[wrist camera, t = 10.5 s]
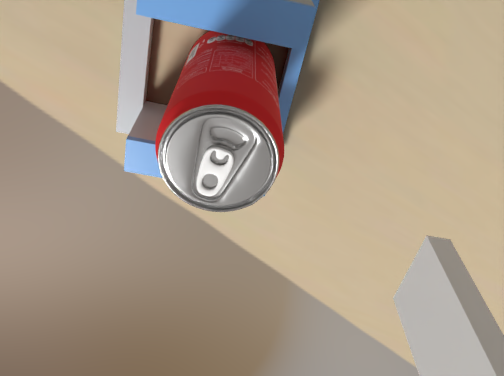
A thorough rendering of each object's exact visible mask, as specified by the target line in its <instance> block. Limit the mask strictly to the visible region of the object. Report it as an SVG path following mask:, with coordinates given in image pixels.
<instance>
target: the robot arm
mask: <svg viewBox="0 0 504 376" xmlns="http://www.w3.org/2000/svg"><path fill="white" fill-rule="evenodd" d="M393 299H394V302H395V305H396V308H397V311H398V314H399V317H400V320H401V323H402V326H403V329H404V332H405V335H406V338H407V341H408V343H409V346H410V349H411V352H412V355H413V358H414V361H415V364H416V367H417V370H418V373H419V375H420V376H504V335H503V333H502V332H501V330H500V328H499V326H498V324H497V323H496V321H495V319H494V317H493V315H492V314H491V312H490V310H489V308H488V307H487V305H486V303H485V301H484V299H483V298H482V296H481V294H480V292H479V290H478V289H477V287H476V285H475V283H474V281H473V280H472V278H471V276H470V274H469V272H468V271H467V269H466V267H465V265H464V264H463V262H462V260H461V258H460V256H459V255H458V253H457V251H456V249H455V247H454V246H453V244H452V242H451V240H450V239H444V238H438V237H433V236H426V238H425V240H424V241H423V243H422V245H421V247H420V249H419V251H418V253H417V254H416V256H415V258H414V260H413V262H412V264H411V266H410V268H409V269H408V271H407V273H406V275H405V277H404V279H403V281H402V283H401V284H400V286H399V288H398V290H397V292H396V294H395V296H394V297H393Z"/></svg>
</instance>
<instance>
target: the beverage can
mask: <svg viewBox="0 0 504 376" xmlns="http://www.w3.org/2000/svg"><path fill="white" fill-rule="evenodd" d="M155 150H156V157H157V161H158V165H159V169H160V172H161V175H162V177H163V179H164V181H165V183H166V184H167V186H168V187H169V188H170V190H171V191H172V192H173V193H174V194H175V195H176V196H178V197H179V198H180V199H181V200H183V201H184V202H186V203H188V204H190V205H192V206H194V207H197V208H199V209H203V210H207V211H213V212H228V211H234V210H239V209H242V208H245V207H248V206H250V205H252V204H254V203H255V202H257V201H258V200H259V199H260V198H262V197H263V196H264V195H265V194H266V193H267V192H268V190H269V189H270V188H271V186H272V185H273V183H274V181H275V179H276V177H277V175H278V173H279V171H280V169H281V166H282V163H283V158H284V141H283V132H282V124H281V115H280V107H279V98H278V90H277V81H276V73H275V65H274V60H273V57H272V54H271V52H270V50H269V48H268V47H267V45H266V44H265V43H264V42H261V41H256V40H252V39H247V38H242V37H238V36H233V35H228V34H224V33H219V32H215V31H209V32H207V33H206V34H204V35H203V36H201V37H200V38H199V39H198V40H197V41H196V43H195V44H194V45H193V47H192V48H191V50H190V53H189V55H188V57H187V60H186V62H185V64H184V67H183V69H182V72H181V74H180V77H179V79H178V81H177V84H176V86H175V89H174V91H173V93H172V96H171V98H170V101H169V103H168V106H167V108H166V110H165V113H164V115H163V118H162V120H161V123H160V125H159V128H158V131H157V135H156V142H155Z"/></svg>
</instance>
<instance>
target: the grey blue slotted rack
mask: <svg viewBox="0 0 504 376" xmlns="http://www.w3.org/2000/svg"><path fill="white" fill-rule="evenodd" d="M319 1H320V0H124V14H123V30H122V46H121V62H120V78H119V93H118V109H117V125H116V132H121V133H126V134H129V135H128V137H127V139H126V150H125V163H124V171H127V172H132V173H138V174H143V175H149V176H155V177H160V178H163V177H162V175H161V172H160V169H159V165H158V161H157V157H156V150H155V142H156V135H157V131H158V128H159V125H160V123H161V120H162V118H163V115H164V113H165V110H166V108H167V106H168V105H164V104H158V103H153V102H148V101H146V94H147V84H148V74H149V63H150V53H151V43H152V32H153V22H154V18H155V19H159V20H164V21H168V22H173V23H178V24H182V25H187V26H191V27H196V28H201V29H205V30H210V31H215V32H219V33H224V34H228V35H233V36H238V37H242V38H247V39H252V40H256V41H261V42H265V43H270V44H275V45H279V46H284V47H289V50H288V54H287V58H286V62H285V66H284V70H283V74H282V78H281V82H280V86H279V90H278V98H279V107H280V115H281V124H282V132H284V128H285V125H286V121H287V117H288V114H289V110H290V106H291V103H292V99H293V95H294V92H295V88H296V85H297V81H298V77H299V74H300V70H301V66H302V63H303V59H304V55H305V52H306V48H307V44H308V41H309V37H310V33H311V30H312V26H313V23H314V19H315V15H316V12H317V8H318V4H319ZM264 196H265V195H264Z"/></svg>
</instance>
